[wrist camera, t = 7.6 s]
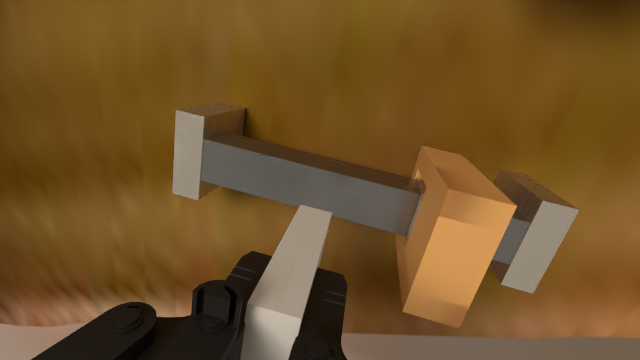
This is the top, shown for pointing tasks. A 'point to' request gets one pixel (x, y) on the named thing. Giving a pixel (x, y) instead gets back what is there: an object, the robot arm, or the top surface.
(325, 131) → the top surface
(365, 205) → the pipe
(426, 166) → the collar
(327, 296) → the robot arm
